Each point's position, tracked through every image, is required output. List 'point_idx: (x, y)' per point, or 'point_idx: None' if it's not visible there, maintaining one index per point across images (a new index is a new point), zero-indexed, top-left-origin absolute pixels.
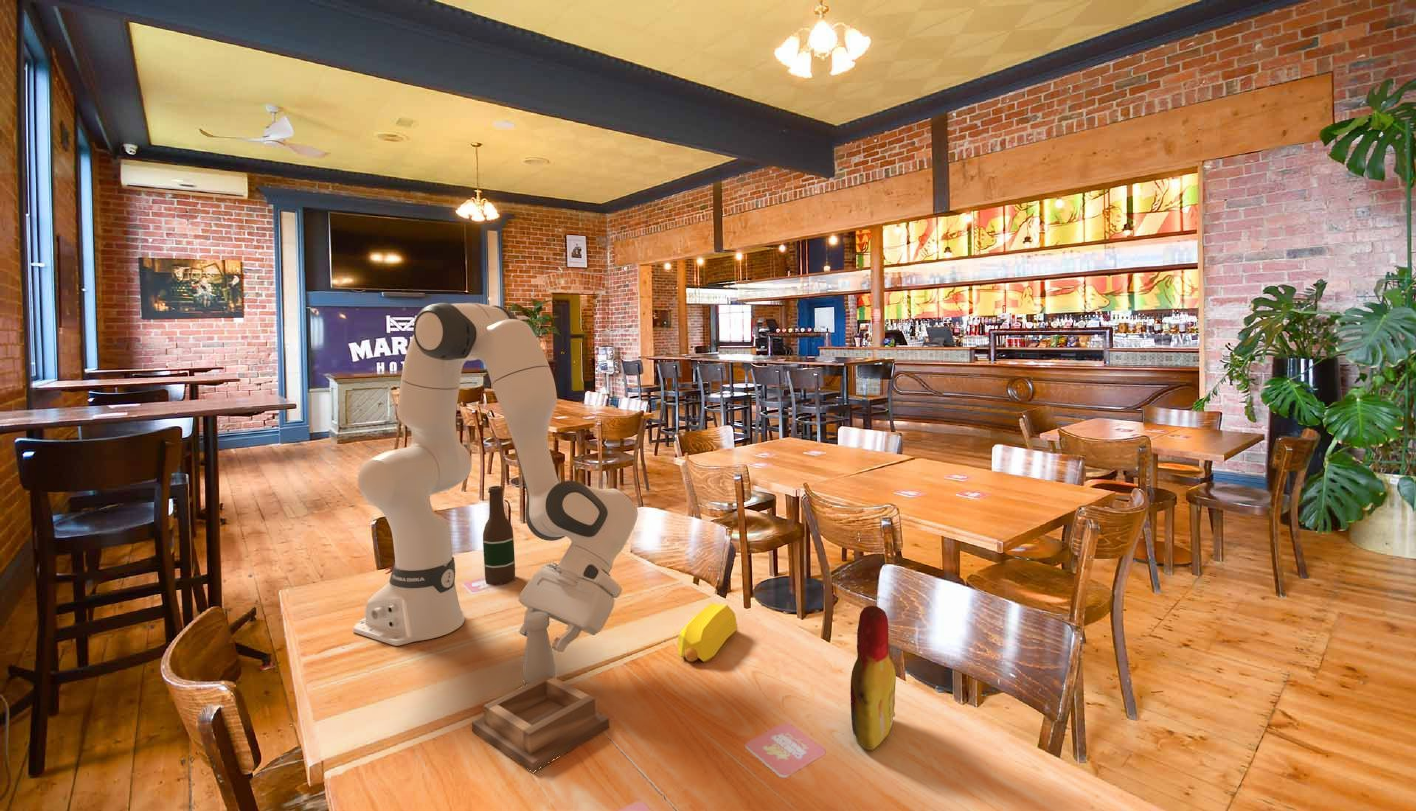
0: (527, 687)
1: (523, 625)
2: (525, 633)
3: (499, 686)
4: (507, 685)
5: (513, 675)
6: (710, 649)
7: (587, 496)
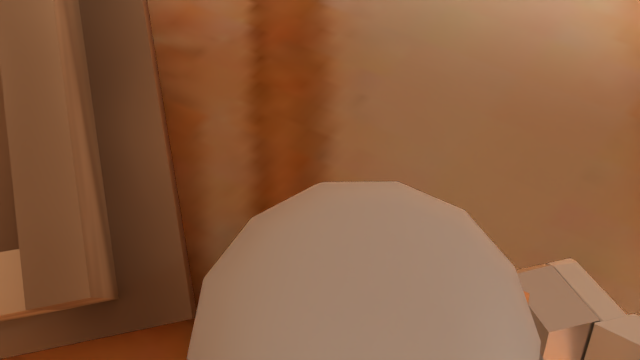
0: (32, 123)
1: (596, 299)
2: None
3: (422, 161)
4: None
5: None
6: None
7: None
